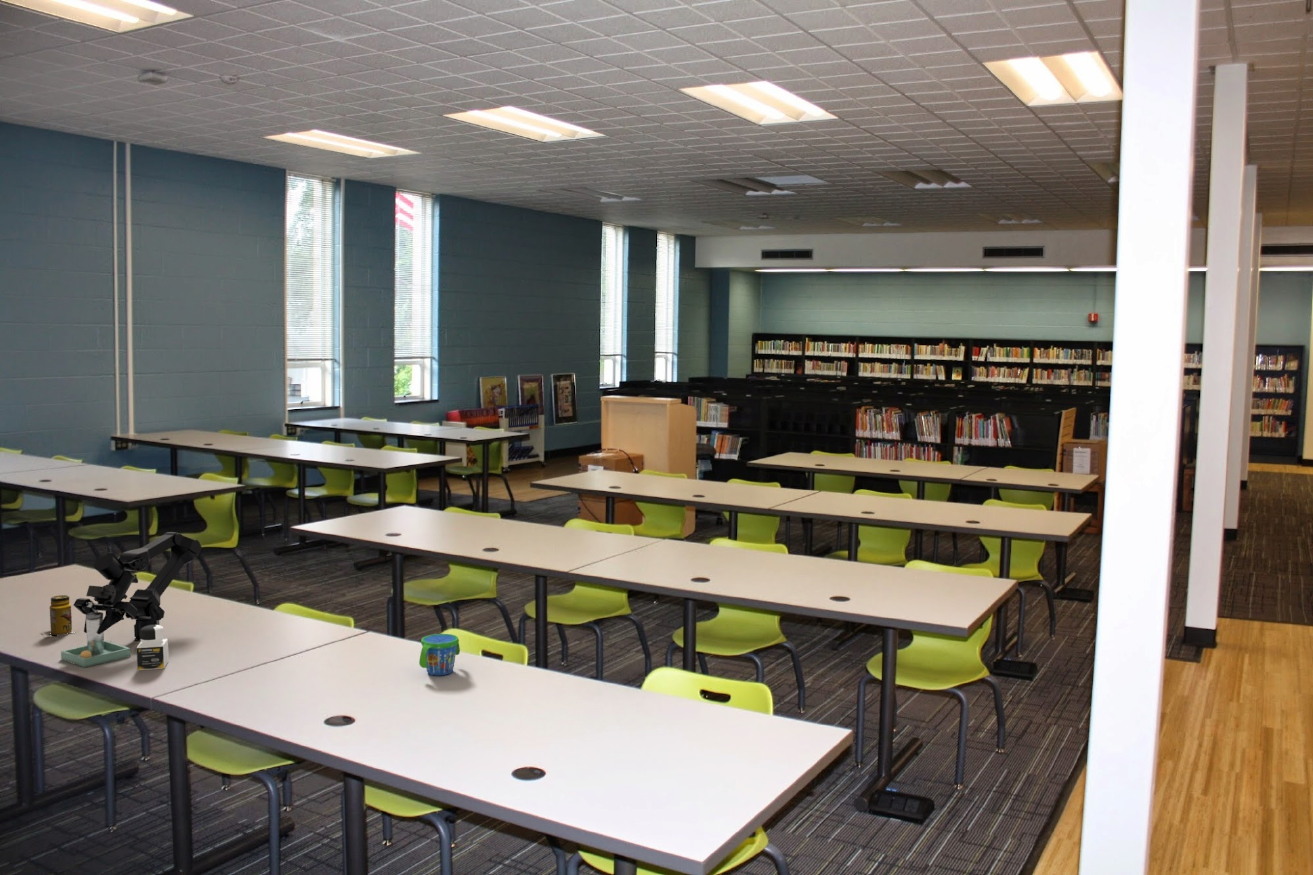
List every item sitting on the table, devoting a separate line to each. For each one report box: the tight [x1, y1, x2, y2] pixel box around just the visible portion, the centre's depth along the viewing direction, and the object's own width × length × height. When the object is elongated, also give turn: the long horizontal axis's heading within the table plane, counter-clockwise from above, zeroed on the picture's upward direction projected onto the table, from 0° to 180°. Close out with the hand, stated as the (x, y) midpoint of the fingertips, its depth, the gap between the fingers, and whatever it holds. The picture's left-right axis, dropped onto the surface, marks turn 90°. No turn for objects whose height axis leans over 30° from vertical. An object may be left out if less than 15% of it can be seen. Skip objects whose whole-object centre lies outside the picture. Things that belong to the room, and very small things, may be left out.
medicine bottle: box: [136, 624, 169, 671], centre depth 299 cm, size 7×7×12 cm
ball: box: [80, 650, 92, 658], centre depth 302 cm, size 3×3×3 cm
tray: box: [60, 640, 132, 669], centre depth 306 cm, size 14×14×2 cm
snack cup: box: [418, 633, 461, 676], centre depth 296 cm, size 16×10×10 cm
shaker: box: [85, 611, 105, 655], centre depth 306 cm, size 5×5×12 cm
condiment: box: [40, 594, 76, 638], centre depth 331 cm, size 7×8×12 cm
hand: (91, 632), depth 304 cm, fingers closed on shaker, 4 cm apart
